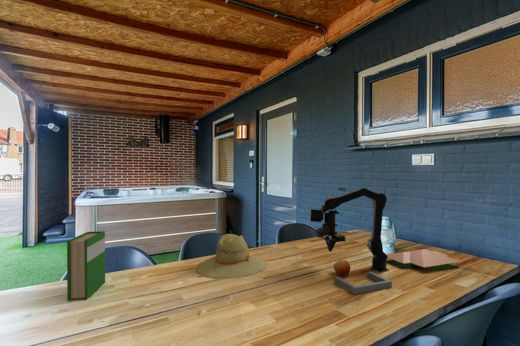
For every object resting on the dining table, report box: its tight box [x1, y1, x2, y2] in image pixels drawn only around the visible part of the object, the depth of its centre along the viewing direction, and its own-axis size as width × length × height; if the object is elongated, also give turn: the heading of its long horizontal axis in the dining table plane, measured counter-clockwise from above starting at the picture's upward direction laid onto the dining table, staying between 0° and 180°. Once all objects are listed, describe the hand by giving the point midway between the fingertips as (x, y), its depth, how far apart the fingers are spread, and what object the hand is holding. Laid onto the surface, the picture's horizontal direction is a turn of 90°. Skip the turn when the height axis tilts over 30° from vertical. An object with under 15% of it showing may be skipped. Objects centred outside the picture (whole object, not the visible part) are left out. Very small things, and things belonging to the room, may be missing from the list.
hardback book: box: [66, 230, 106, 302], centre depth 122 cm, size 18×7×24 cm, turn 8°
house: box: [386, 248, 461, 272], centre depth 156 cm, size 23×33×8 cm
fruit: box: [333, 259, 351, 277], centre depth 141 cm, size 8×8×8 cm
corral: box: [334, 271, 393, 295], centre depth 127 cm, size 20×14×2 cm
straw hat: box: [195, 233, 268, 280], centre depth 154 cm, size 38×40×17 cm
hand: (330, 251), depth 150 cm, fingers closed
